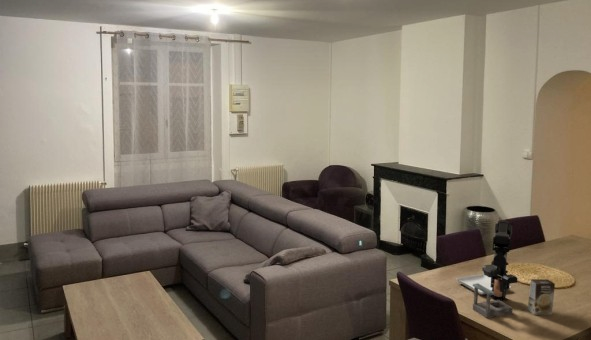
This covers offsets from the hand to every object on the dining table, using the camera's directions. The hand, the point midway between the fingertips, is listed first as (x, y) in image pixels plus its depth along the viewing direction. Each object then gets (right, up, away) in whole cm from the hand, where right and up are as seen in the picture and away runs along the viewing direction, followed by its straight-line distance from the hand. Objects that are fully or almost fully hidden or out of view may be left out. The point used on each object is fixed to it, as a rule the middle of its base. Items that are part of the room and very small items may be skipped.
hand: (498, 290), depth 245 cm
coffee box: (+20, -11, 0) cm, 23 cm away
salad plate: (+4, -6, +31) cm, 32 cm away
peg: (0, -3, 0) cm, 3 cm away
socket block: (-3, -11, +1) cm, 11 cm away
